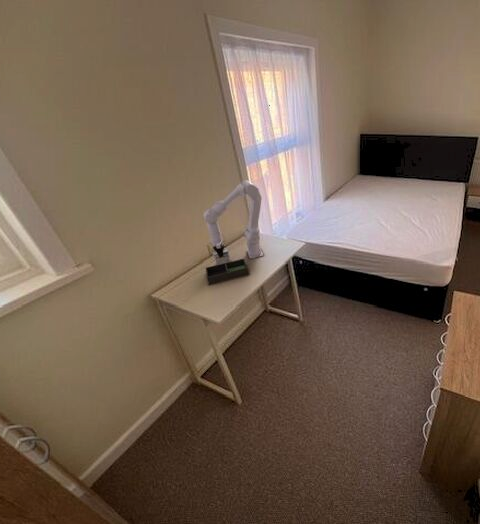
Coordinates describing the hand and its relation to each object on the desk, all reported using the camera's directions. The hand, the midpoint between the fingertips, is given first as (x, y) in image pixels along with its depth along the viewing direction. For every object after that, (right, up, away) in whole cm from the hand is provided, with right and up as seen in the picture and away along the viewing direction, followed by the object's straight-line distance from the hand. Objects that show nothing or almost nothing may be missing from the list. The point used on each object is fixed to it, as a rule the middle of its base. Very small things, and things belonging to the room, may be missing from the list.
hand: (220, 253), depth 160 cm
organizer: (+6, -12, -5) cm, 14 cm away
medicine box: (0, -6, +4) cm, 8 cm away
